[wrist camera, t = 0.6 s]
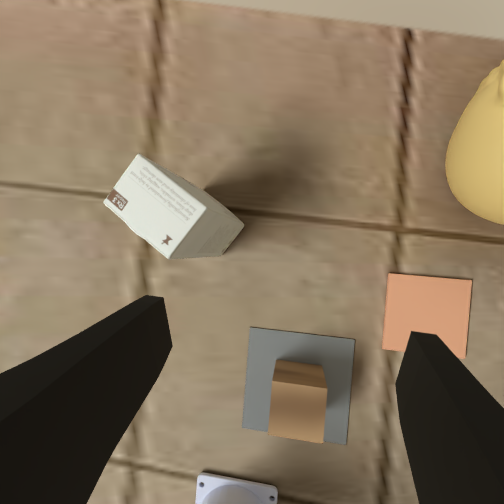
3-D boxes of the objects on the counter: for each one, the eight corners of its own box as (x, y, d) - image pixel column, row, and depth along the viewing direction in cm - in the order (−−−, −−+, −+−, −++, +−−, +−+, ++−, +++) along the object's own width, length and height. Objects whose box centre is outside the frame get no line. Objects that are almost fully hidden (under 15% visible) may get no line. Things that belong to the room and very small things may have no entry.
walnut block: (318, 411, 29) (323, 443, 24) (272, 404, 30) (267, 434, 25) (322, 365, 29) (327, 388, 24) (276, 359, 30) (272, 380, 25)
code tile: (345, 444, 29) (346, 445, 29) (242, 427, 30) (241, 428, 30) (354, 339, 29) (354, 339, 29) (250, 327, 30) (249, 327, 30)
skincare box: (246, 224, 30) (215, 205, 18) (219, 259, 31) (170, 263, 19) (200, 186, 31) (139, 145, 19) (173, 221, 31) (98, 202, 19)
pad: (463, 357, 28) (465, 358, 27) (381, 347, 29) (382, 348, 28) (470, 280, 27) (472, 280, 27) (388, 273, 28) (389, 273, 28)
